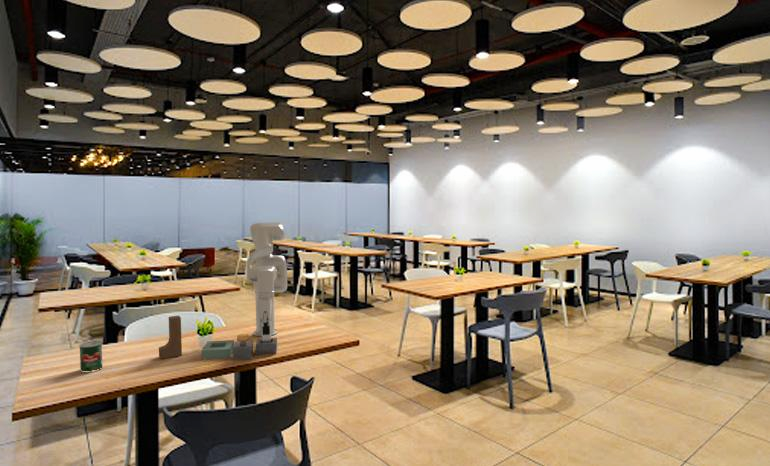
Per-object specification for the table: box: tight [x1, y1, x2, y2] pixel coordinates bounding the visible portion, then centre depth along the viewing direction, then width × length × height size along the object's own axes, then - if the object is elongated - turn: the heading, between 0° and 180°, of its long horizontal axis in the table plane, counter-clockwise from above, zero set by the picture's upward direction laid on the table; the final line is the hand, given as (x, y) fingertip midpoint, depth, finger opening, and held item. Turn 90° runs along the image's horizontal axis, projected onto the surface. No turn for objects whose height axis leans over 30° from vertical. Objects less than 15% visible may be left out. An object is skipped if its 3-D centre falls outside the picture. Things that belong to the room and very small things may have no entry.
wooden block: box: [158, 315, 183, 360], centre depth 209 cm, size 9×4×18 cm, turn 125°
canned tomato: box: [79, 340, 103, 371], centre depth 193 cm, size 8×8×11 cm
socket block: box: [255, 337, 278, 356], centre depth 216 cm, size 9×9×5 cm
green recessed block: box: [201, 339, 235, 360], centre depth 213 cm, size 14×12×4 cm
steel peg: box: [261, 320, 272, 343], centre depth 216 cm, size 4×4×12 cm
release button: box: [236, 333, 250, 345], centre depth 208 cm, size 5×5×9 cm
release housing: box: [232, 340, 254, 361], centre depth 209 cm, size 8×8×6 cm
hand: (266, 332), depth 216 cm, fingers closed on steel peg, 4 cm apart
